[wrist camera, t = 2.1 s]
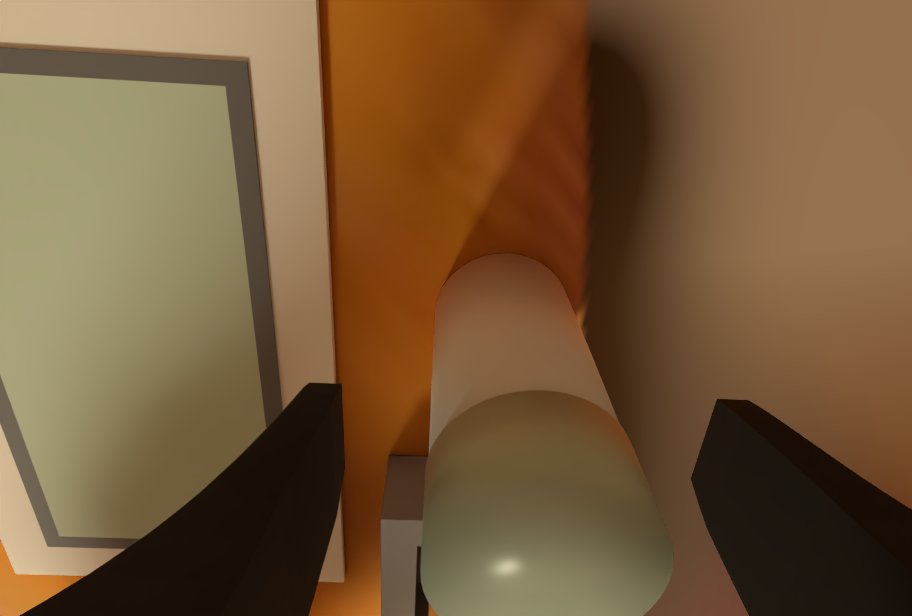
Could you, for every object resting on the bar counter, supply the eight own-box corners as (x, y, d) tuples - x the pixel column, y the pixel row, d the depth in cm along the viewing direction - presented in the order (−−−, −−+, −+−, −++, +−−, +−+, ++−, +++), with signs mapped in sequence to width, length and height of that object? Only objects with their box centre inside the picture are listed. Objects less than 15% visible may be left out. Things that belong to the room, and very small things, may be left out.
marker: (560, 375, 17) (644, 653, 9) (430, 370, 16) (417, 648, 9) (580, 255, 15) (702, 484, 8) (435, 248, 15) (424, 473, 8)
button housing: (556, 589, 21) (569, 659, 19) (388, 585, 21) (381, 655, 18) (583, 461, 18) (602, 526, 16) (389, 455, 18) (380, 519, 16)
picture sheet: (345, 574, 20) (343, 584, 20) (21, 566, 20) (13, 576, 20) (318, -14, 12) (313, -15, 12) (-240, -50, 12) (-263, -52, 11)
